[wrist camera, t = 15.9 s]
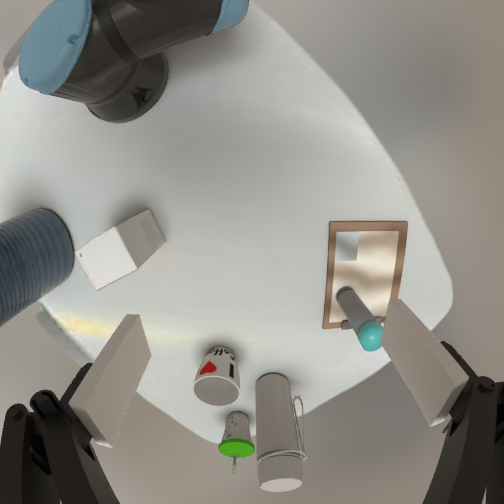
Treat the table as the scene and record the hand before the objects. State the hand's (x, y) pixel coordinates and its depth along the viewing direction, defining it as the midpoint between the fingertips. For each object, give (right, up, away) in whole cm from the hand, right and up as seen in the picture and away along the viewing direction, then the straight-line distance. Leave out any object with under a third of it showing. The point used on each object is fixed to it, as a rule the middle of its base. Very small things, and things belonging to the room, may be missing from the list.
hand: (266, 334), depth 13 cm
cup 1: (-7, -16, +38) cm, 42 cm away
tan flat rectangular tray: (+20, 0, +33) cm, 38 cm away
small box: (-20, +7, +30) cm, 37 cm away
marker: (+16, -4, +33) cm, 36 cm away
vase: (-43, +5, +31) cm, 53 cm away
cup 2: (-4, -35, +44) cm, 57 cm away
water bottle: (+4, -24, +40) cm, 47 cm away
